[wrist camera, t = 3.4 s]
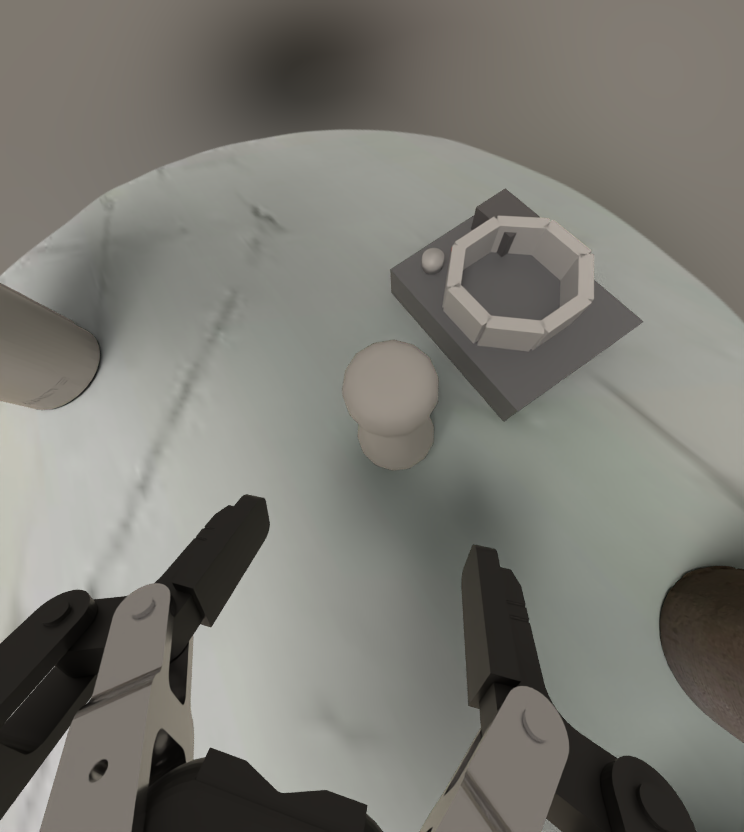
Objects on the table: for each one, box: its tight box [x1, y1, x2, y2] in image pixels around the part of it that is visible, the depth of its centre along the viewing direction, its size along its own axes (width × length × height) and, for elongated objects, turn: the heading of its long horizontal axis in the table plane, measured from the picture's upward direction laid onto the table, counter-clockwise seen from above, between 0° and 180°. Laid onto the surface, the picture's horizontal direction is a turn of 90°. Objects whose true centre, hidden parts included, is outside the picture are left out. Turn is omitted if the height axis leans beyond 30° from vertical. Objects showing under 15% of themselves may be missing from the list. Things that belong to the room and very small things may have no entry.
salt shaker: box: [342, 340, 439, 470], centre depth 18 cm, size 6×6×13 cm
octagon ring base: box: [390, 189, 643, 421], centre depth 24 cm, size 16×12×6 cm
